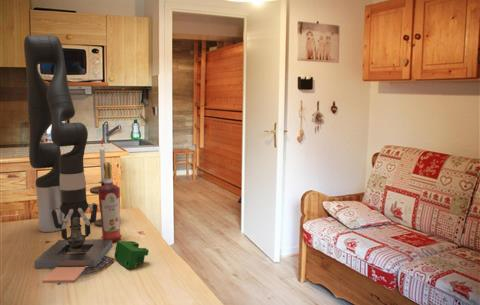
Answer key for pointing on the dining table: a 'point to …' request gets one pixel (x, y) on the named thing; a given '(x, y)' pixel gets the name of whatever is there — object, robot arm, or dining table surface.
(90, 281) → the dining table surface
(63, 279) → the tile
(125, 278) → the dining table surface
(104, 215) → the liquor
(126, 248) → the clamp
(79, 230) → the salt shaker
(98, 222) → the candlestick
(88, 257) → the grey square frame
